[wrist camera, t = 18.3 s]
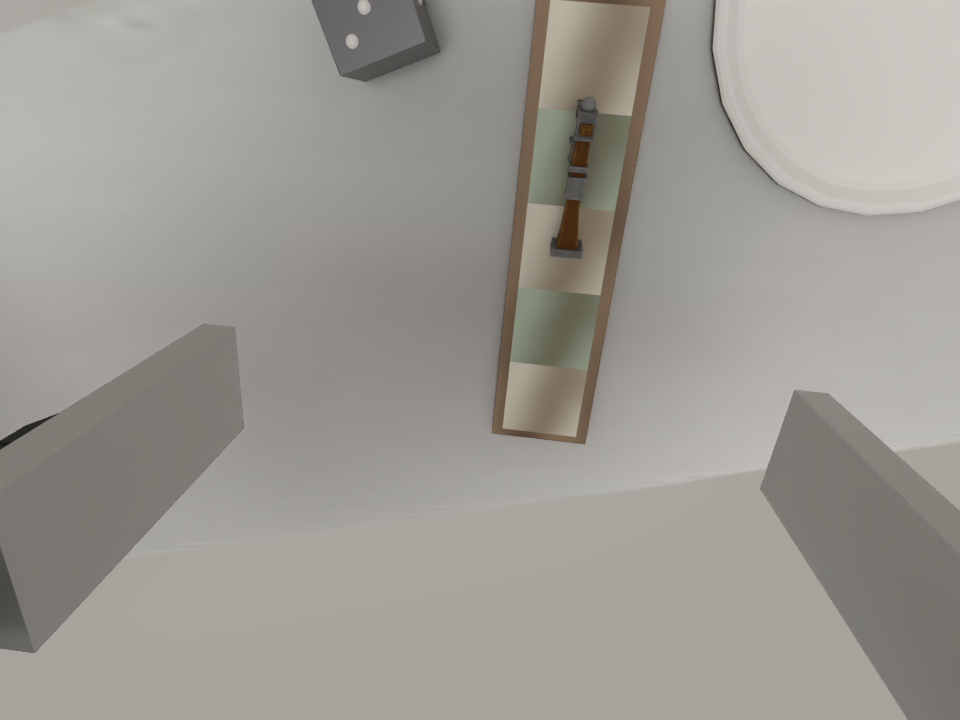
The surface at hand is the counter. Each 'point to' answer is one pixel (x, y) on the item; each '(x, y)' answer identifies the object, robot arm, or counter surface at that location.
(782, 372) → the counter surface
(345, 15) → the die
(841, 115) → the plate
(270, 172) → the counter surface
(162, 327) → the counter surface
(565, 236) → the lantern lamp post
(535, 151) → the board
